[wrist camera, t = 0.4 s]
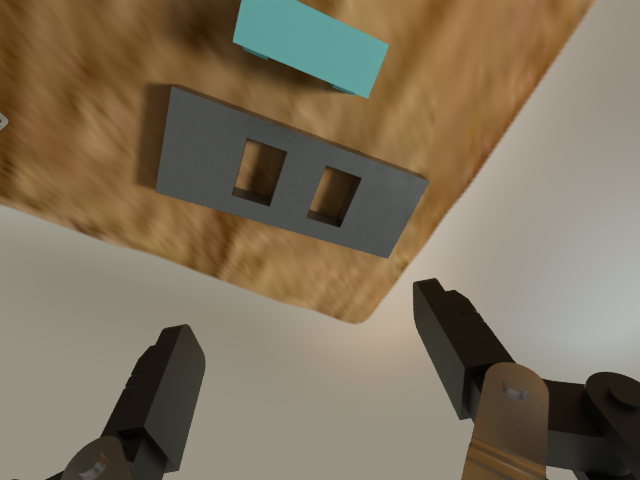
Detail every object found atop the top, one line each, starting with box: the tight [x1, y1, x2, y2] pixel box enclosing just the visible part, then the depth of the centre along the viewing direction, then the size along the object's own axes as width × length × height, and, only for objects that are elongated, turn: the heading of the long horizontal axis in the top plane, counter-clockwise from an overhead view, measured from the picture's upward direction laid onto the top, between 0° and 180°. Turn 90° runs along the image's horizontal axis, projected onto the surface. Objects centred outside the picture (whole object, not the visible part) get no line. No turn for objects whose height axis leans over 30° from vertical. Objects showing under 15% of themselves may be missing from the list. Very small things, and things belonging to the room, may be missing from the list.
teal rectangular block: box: [233, 0, 389, 99], centre depth 27 cm, size 4×11×6 cm, turn 70°
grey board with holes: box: [155, 85, 430, 259], centre depth 34 cm, size 10×26×2 cm, turn 69°
